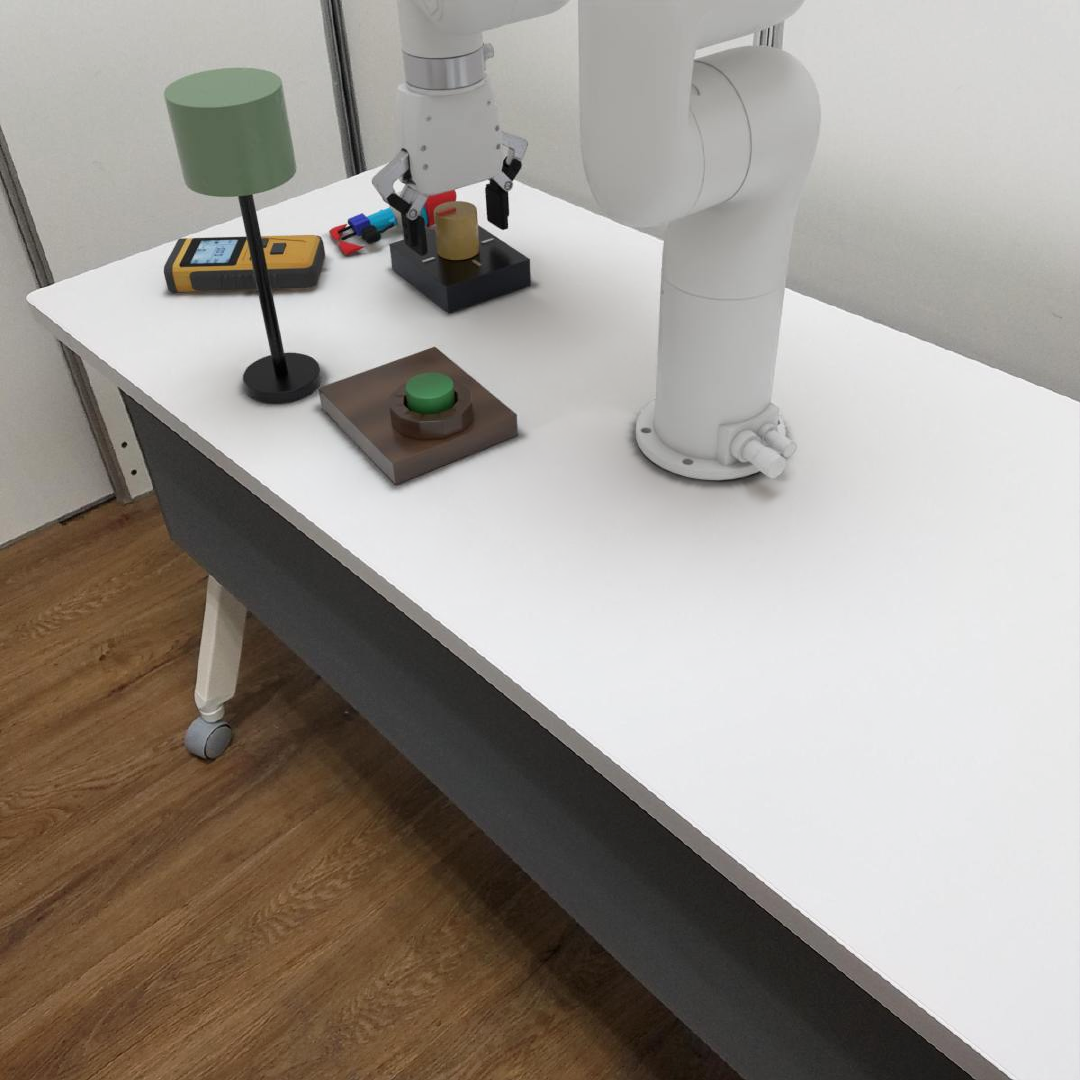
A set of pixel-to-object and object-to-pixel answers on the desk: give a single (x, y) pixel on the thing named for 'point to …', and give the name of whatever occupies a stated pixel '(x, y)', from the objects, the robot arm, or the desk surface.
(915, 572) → the desk surface
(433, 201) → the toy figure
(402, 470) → the button base
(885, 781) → the desk surface
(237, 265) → the electronic device
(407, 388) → the switch
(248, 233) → the lamp
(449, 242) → the knob
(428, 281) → the dimmer panel
